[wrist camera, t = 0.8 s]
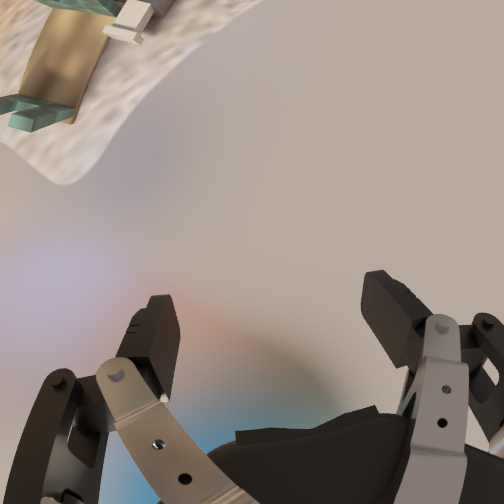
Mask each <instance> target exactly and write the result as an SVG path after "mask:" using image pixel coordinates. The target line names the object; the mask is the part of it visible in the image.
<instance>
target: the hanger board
mask: <svg viewBox="0 0 504 504" xmlns="http://www.w3.org/2000/svg"><path fill="white" fill-rule="evenodd" d="M36 1H38V2H40V3H43V4H45V5H47V6H50V7H52V8H53V10H52V12H51V14H50V16H49V17H48V19H47V21H46V23H45V25H44V27H43V29H42V31H41V33H40V36H39V38H38V40H37V42H36V44H35V47H34V49H33V52H32V54H31V56H30V59H29V62H28V64H27V67H26V70H25V72H24V75H23V78H22V81H21V84H20V87H19V90H18V94H14V95H9V96H4V97H0V115H1V114H5V113H8V112H12V111H17V112H16V113H12V114H11V117H10V122H9V127H12V128H16V129H20V130H23V131H27V132H30V133H31V132H33V131H36V130H38V129H41V128H43V127H46V126H49V125H51V124H54V123H57V122H63V123H67V124H73V123H74V120H75V117H76V114H77V111H78V108H79V105H80V103H81V100H82V97H83V94H84V92H85V89H86V87H87V84H88V82H89V79H90V77H91V75H92V72H93V70H94V68H95V66H96V64H97V61H98V59H99V57H100V55H101V53H102V51H103V49H104V47H105V45H106V43H107V41H108V39H109V37H110V36H108V35H106V34H105V33H103V32H102V31H103V29H104V27H105V26H106V25H108V26H112V25H113V23H114V21H115V20H116V18H117V16H118V15H119V13H120V11H121V10H122V8H123V6H124V5H125V3H122V2H117V1H114V0H36Z"/></svg>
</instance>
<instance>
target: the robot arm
mask: <svg viewBox="0 0 504 504" xmlns="http://www.w3.org/2000/svg"><path fill="white" fill-rule="evenodd" d="M361 312H362V315H363V317H364V319H365V320H366V322H367V323H368V325H369V326H370V328H371V329H372V331H373V333H374V334H375V336H376V337H377V339H378V340H379V342H380V343H381V345H382V347H383V348H384V350H385V351H386V353H387V354H388V356H389V358H390V359H391V361H392V362H393V364H394V366H395V367H396V368H400V367H403V366H406V365H407V366H408V368H409V369H408V371H407V374H406V379H405V383H404V387H403V392H402V395H401V400H400V403H399V407H398V410H397V413H396V414H389V413H379V412H378V410H377V408H376V406H375V405H373V406H370V407H367V408H363V409H360V410H356V411H352V412H349V413H345V414H343V415H341V416H339V417H336V418H334V419H332V420H330V421H328V422H326V423H324V424H322V425H319V426H317V427H315V428H313V429H287V428H264V429H255V430H244V431H235V433H236V440H235V441H232V442H229V443H227V444H224V445H221V446H220V447H217V448H216V449H214V450H212V451H211V452H209V453H208V454H205V453H204V452H203V451H202V450H201V449H200V448H199V446H198V445H197V444H196V443H195V442H194V441H193V440H192V439H191V437H190V436H189V435H188V434H187V433H186V432H185V430H184V429H183V428H182V427H181V425H180V424H179V423H178V422H177V421H176V419H175V418H174V417H173V416H172V414H171V413H170V412H169V410H168V409H167V408H166V407H165V405H164V404H163V403H162V402H169V401H170V395H171V389H172V383H173V377H174V371H175V365H176V359H177V354H178V349H179V343H180V328H179V323H178V320H177V316H176V312H175V309H174V305H173V301H172V298H171V296H170V295H169V294H168V295H156V296H151V298H150V300H149V302H148V305H147V307H146V308H143V309H140V310H139V311H138V312H137V313H136V314H135V315H134V316H133V317H132V319H131V321H130V324H129V327H128V328H127V331H126V334H125V335H124V338H123V340H122V342H121V345H120V347H119V350H118V352H117V354H116V357H115V358H113V359H110V360H107V361H106V362H104V363H103V364H102V365H101V366H100V367H99V368H98V370H97V372H96V375H93V376H88V377H83V378H78V379H77V378H76V376H75V375H74V373H73V372H72V371H71V370H69V369H65V368H64V369H58V370H55V371H53V372H52V373H50V374H49V375H48V376H47V377H46V379H45V380H44V383H43V385H42V387H41V389H40V391H39V393H38V396H37V398H36V400H35V403H34V405H33V407H32V410H31V413H30V415H29V417H28V420H27V422H26V426H25V428H24V430H23V433H22V436H21V439H20V442H19V445H18V448H17V451H16V454H15V457H14V460H13V464H12V467H11V471H10V475H9V478H8V483H7V487H6V491H5V496H4V501H3V504H98V500H99V491H100V483H101V476H102V469H103V463H104V457H105V451H106V445H107V440H108V435H109V432H111V431H118V433H119V435H120V437H121V439H122V441H123V442H124V444H125V446H126V448H127V449H128V451H129V453H130V454H131V456H132V458H133V460H134V461H135V463H136V464H137V466H138V468H139V469H140V471H141V472H142V474H143V475H144V477H145V478H146V480H147V481H148V482H149V484H150V485H151V487H152V488H153V490H154V491H155V493H156V494H157V495H158V497H159V498H160V499H161V500H160V501H159V502H158V503H157V504H504V325H503V324H502V323H501V322H500V321H499V320H498V319H497V318H496V317H494V316H493V315H491V314H488V313H478V314H476V315H475V317H474V319H473V322H472V324H471V325H458V324H457V322H456V321H455V320H454V319H452V318H451V317H449V316H446V315H443V314H433V313H432V312H431V311H430V310H429V309H428V308H427V307H426V306H425V305H424V304H423V303H422V302H421V301H420V300H419V299H418V298H416V296H415V295H414V294H413V293H412V292H411V291H410V290H409V289H408V288H407V287H406V286H405V285H404V284H403V283H401V282H399V281H397V280H395V279H392V278H391V277H390V276H389V275H388V274H387V273H386V272H385V271H384V270H378V271H371V272H367V273H366V274H365V277H364V284H363V291H362V298H361ZM487 358H489V360H490V361H491V362H492V363H493V365H494V366H495V367H496V369H497V370H498V372H499V382H498V384H497V385H496V386H495V384H494V383H493V381H492V380H491V378H490V377H489V376H488V374H487V373H486V371H485V370H484V369H483V365H484V363H485V361H486V360H487ZM468 405H469V407H470V408H471V410H472V412H473V414H474V415H475V417H476V419H477V421H478V423H479V424H480V426H481V428H482V430H483V432H484V434H485V436H486V438H487V440H488V442H489V451H488V452H485V451H483V450H480V449H478V448H475V447H473V446H470V445H468V444H465V437H466V428H467V416H468ZM71 425H73V426H72V429H71V433H70V436H69V441H68V444H67V439H68V435H69V432H70V428H71Z"/></svg>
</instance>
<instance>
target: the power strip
mask: <svg viewBox="0 0 504 504" xmlns="http://www.w3.org/2000/svg"><path fill="white" fill-rule="evenodd" d="M125 1H126V3H125V5H124V6H123V8H122V10H121V11H120V13H119V15H118V16H117V18H116V20H115V21H114V23H113V25H112V26H108V25H106V26H105V27H104V29H103V31H102V32H103V33H105V34H106V35H108V36H110V37H111V38H114V39H118V40H122V41H126V42H129V43H133V44H136V45H141V43H142V41H143V40H144V39H143V38H142V37H141V36H140V35H141V33H142V31H143V29H144V28H145V26H146V24H147V23H148V21H149V20H150V18H151V16H156V17H159V18H162V19H163V17H164V16H165V14H166V13H167V11H168V10H169V8H170V7H171V5H172V4H173V2H174V1H175V0H125Z"/></svg>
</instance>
